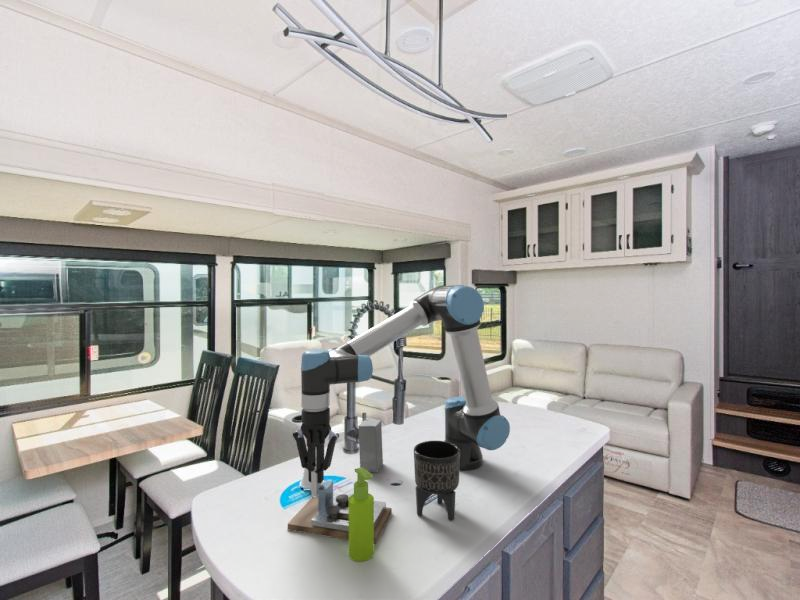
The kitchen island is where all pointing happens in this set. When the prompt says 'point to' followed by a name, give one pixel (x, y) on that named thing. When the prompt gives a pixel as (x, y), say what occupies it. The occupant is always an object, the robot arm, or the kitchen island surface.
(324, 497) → the slider knob panel
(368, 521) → the soap dispenser
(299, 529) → the board
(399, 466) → the kitchen island surface
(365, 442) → the skincare box
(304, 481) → the salt shaker
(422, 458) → the planter
